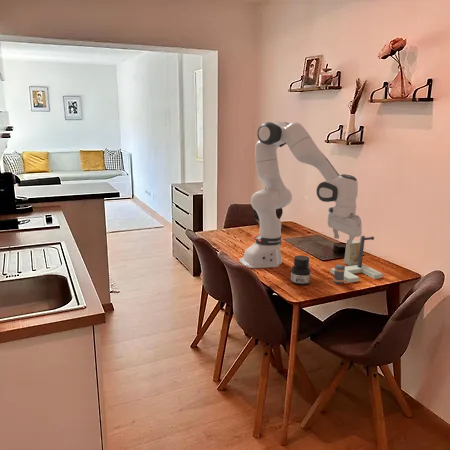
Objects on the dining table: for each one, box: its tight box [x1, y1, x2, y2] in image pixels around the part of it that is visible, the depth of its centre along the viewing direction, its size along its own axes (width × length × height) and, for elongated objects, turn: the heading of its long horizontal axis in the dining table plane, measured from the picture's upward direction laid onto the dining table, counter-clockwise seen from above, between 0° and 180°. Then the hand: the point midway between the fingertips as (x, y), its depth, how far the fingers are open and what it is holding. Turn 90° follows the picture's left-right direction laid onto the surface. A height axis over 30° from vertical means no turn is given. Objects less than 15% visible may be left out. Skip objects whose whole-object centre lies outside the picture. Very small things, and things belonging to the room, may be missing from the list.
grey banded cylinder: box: [333, 264, 346, 285], centre depth 192 cm, size 5×5×8 cm
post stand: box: [329, 235, 383, 283], centre depth 201 cm, size 22×14×18 cm, turn 111°
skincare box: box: [343, 239, 360, 266], centre depth 217 cm, size 6×4×12 cm
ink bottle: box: [290, 254, 312, 286], centre depth 191 cm, size 10×9×12 cm
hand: (342, 241), depth 188 cm, fingers open, 8 cm apart
